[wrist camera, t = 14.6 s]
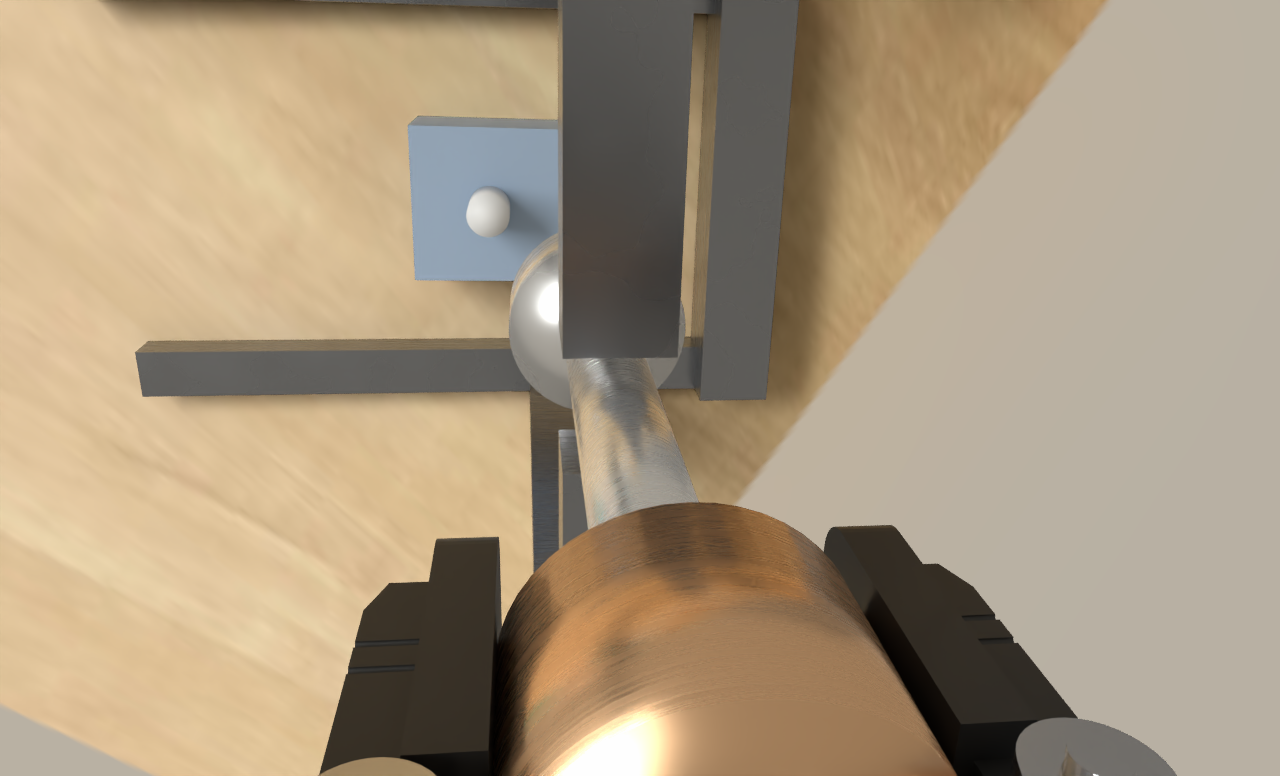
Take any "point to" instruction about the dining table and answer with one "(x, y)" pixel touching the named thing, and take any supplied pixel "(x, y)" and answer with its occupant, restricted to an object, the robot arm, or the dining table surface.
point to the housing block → (481, 194)
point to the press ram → (680, 609)
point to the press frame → (597, 236)
